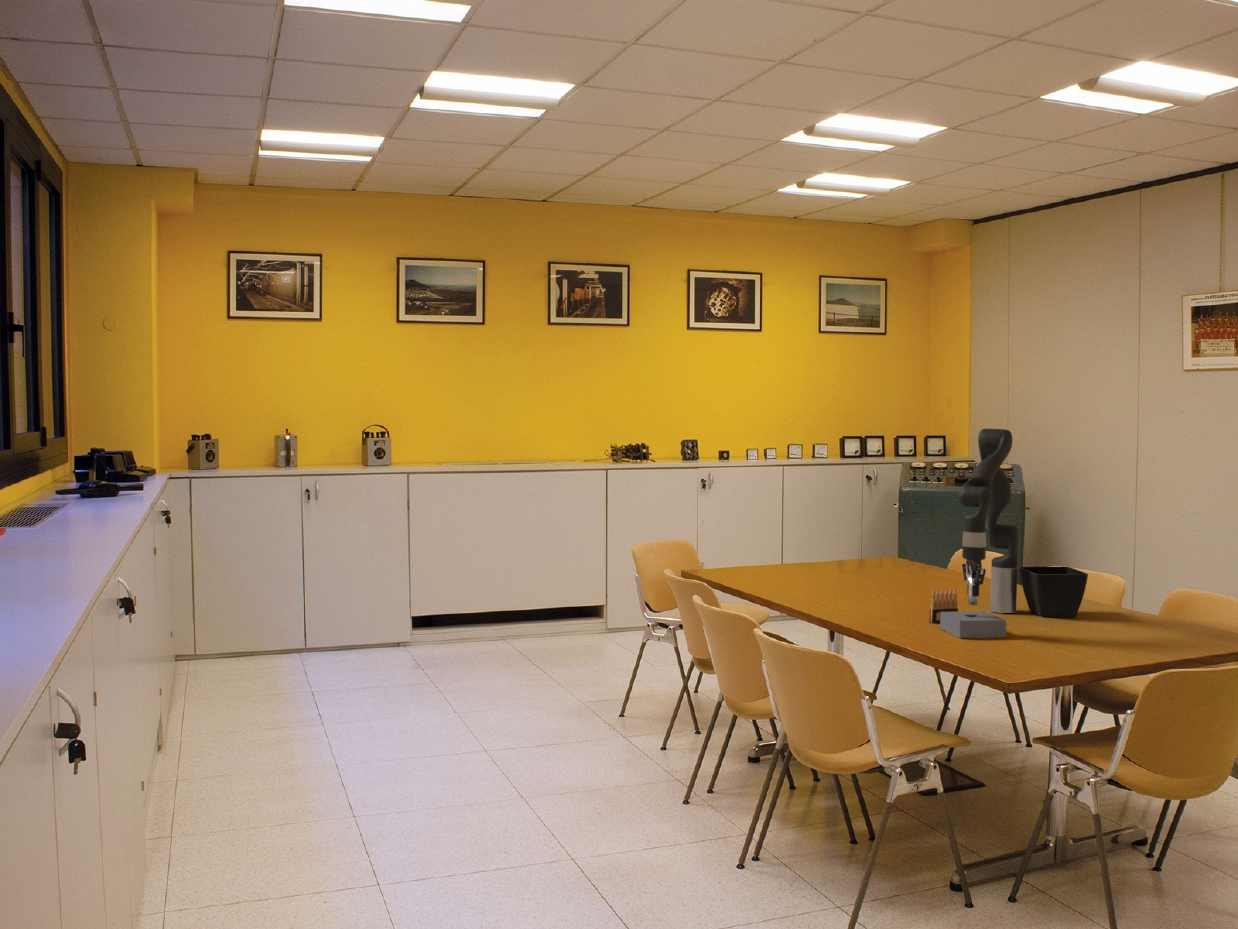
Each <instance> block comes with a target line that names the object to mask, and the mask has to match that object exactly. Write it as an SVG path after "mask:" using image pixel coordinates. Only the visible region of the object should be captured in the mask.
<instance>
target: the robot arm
mask: <svg viewBox="0 0 1238 929" xmlns="http://www.w3.org/2000/svg"><path fill="white" fill-rule="evenodd" d="M977 443H978V444H977V445H978V450H979V456H980V462H978V464H977V465H976V466H975V468H974V470H973V472H972V475H971V476H970V478H969V479H968V480H967V481H966V482H965V483H964V484H963V485H962V486H961V488H960V489H959V492H958V494H957V495H958V497H957V498H958V502H959V503H960V504H961V505H962V506H963V507H966V508H968V507H969V508H970V507H971V508H978V510H977V511H976V512H973V513H967V514H964V517H963V533H962V548H961V550H962V552H961V553H962V556H961V557H962V559H964V560H966V561H965V563H962V565H961V568H962V574H963V581H965V583H966V584H967V595H969V575H970V578H971V579H972V596H974V597H978V598H979V596H980V586H981V585H983V584H984V580H985V577H986V573H987V570H986V568H982V567H983V565H982V560H985V559H986V556H987V555H986V554H987V551H986V550H987V548H986V547H987V543H988V544H989V547H991V548H993V549H1002V550H1003V549H1004V550H1008V551H1007V553H1005V554H1003V555H1001V556H1000V555H999V556H997V557H994V558H992V559H991V563H990V564H991V568H990V569H991V571H990V599H989V600H990V605H989V606H990V607H989V610H990V612H992V613H995V612H996V614H1003V613H1013V614H1016V613H1017V606H1018V604H1017V602H1018V601H1017V600H1018V558H1019V557H1018V556H1019V554H1018V553H1019V543H1020V542H1019V540H1020V530H1019V527H1018V526H1017V525H1016V524H1002V523H1001V524H1000V523H998V519H999V518H1000V516H1001V514H1002V513H1003V511H1004V510H1005V509H1006V507H1008V505H1009V504H1010V501H1011V499H1012V487H1011V481H1010V478H1009V477H1008V475H1006V473H1005V471H1003V470H1002V468H1001V466H1002V465H1003V463H1004V461H1005V460H1006V459H1007V457H1008V456H1009V454H1010V453H1011V451H1012V447H1013V435H1012V432H1011V430H1009V429H1004V428H1003V429H1001V428H982V429H981V430H980V431H979V433H978V438H977ZM986 520H987V522H986ZM986 523H987V524H986ZM986 525H987V527H986ZM986 528H987V537H986ZM973 575H976V576H973Z"/></svg>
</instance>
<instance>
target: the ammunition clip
mask: <svg viewBox="0 0 1238 929" xmlns="http://www.w3.org/2000/svg"><path fill="white" fill-rule="evenodd" d="M952 590H953V589H951V588H950V590H949V592H948V590H947V588H946V589H945V591H944V590H943V589H941V590H940V591H939V589H937V590H936V592H935V589H933V590H932V592H931V601H930V608H929V620H928V621H929V624H932V623H938V624H940V612H959V608H958V596H957V595H958V594H957V593H958V592H957V590H956V588H954V590H953V591H952Z"/></svg>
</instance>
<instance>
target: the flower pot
mask: <svg viewBox="0 0 1238 929" xmlns="http://www.w3.org/2000/svg"><path fill="white" fill-rule="evenodd" d="M1018 568H1019V577H1020V581H1021V587H1022V589H1023V594H1024V597H1025V600H1026V603H1027V607H1028V609H1029V611H1030V612H1031V611H1032V612H1031V613H1033V614H1035V613H1036V614H1035V615H1037V616H1039V617H1041V616H1046V617H1045V618H1075V617H1076V616H1077V615H1078V612H1079V609H1080V607H1081V604H1082V603H1083V598H1084V596H1085V591H1086V586H1087V583H1088V576H1089V574H1088V573H1086V572H1084V571H1082V570H1079V569H1075V568H1073V567H1070V566H1019V567H1018Z"/></svg>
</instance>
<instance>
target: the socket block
mask: <svg viewBox="0 0 1238 929" xmlns="http://www.w3.org/2000/svg"><path fill="white" fill-rule="evenodd" d="M939 630H941V631H943V630H945V631H946V633H947V632H948V633H947V634H949V633H951V634H953V635H954V636H953V635H952V636H953V637H955V636H956V638H957V637H959V638H978V639H989V638H988V637H991V638H990V639H995V638H994V637H1006V638H1007V620H1006V619H1004V618H1002V617H999V616H997V615H994V614H993V613H990V612H987V611H986V610H982V611H981V610H978V611H977V610H975V611H971V610H970V611H958V612H940V623H939ZM945 631H944V632H945ZM951 634H950V635H951ZM981 637H982V638H981ZM984 637H985V638H984ZM959 638H958V639H959Z"/></svg>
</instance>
